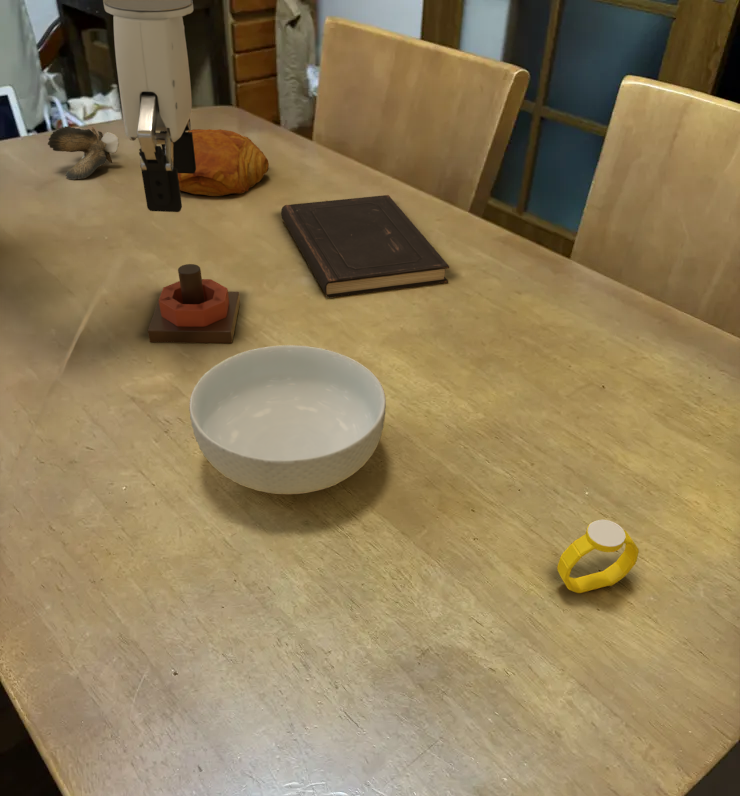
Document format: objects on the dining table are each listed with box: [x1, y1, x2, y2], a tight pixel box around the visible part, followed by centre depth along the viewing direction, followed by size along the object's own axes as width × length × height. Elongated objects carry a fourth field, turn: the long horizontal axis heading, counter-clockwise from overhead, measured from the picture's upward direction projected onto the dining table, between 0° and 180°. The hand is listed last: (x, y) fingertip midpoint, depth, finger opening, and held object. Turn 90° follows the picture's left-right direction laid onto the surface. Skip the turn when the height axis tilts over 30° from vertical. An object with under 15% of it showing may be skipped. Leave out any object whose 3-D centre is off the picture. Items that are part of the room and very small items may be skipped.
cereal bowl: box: [188, 344, 387, 495], centre depth 66 cm, size 17×17×7 cm
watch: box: [556, 519, 640, 594], centre depth 57 cm, size 6×3×6 cm, turn 105°
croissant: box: [178, 128, 270, 197], centre depth 114 cm, size 14×16×8 cm
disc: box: [158, 278, 229, 327], centre depth 84 cm, size 7×7×2 cm
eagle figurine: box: [47, 125, 120, 180], centre depth 116 cm, size 8×7×9 cm
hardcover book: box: [280, 194, 450, 299], centre depth 100 cm, size 16×23×2 cm
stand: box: [147, 263, 241, 344], centre depth 84 cm, size 9×9×6 cm
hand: (173, 190), depth 76 cm, fingers open, 9 cm apart
